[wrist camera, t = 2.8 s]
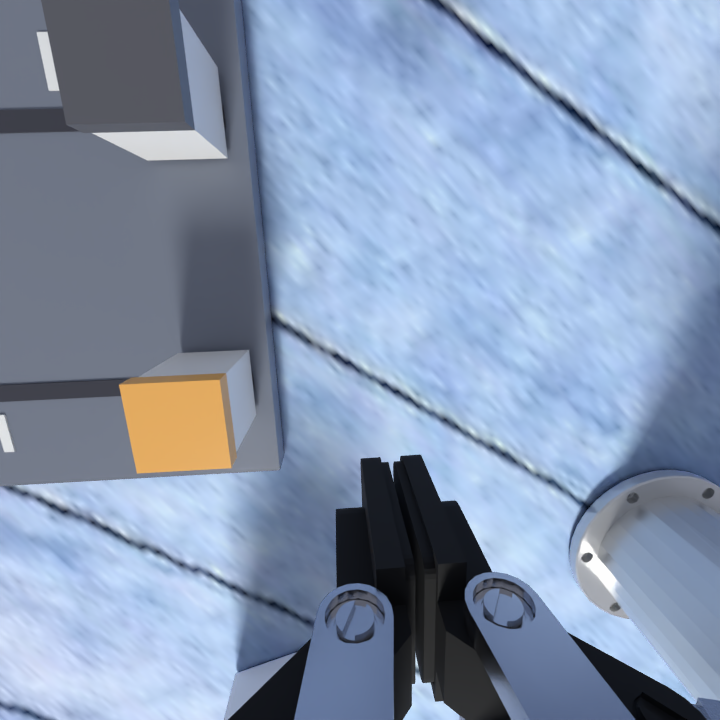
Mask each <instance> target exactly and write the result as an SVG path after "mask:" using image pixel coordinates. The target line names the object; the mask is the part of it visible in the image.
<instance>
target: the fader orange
mask: <svg viewBox="0 0 720 720" xmlns="http://www.w3.org/2000/svg"><path fill="white" fill-rule="evenodd" d="M119 388H120V393H121V398H122V402H123V407H124V412H125V417H126V422H127V427H128V432H129V437H130V442H131V447H132V452H133V457H134V462H135V467H136V472H137V474H138V473H155V472H173V471H191V470H208V469H226V468H232V466H233V464H234V462H235V460H236V458H237V454H236V452H237V450H238V448H239V446H240V444H241V443H242V441H243V439H244V437H245V435H246V433H247V431H248V429H249V427H250V426H251V424H252V422H253V420H254V418H255V416H256V408H255V399H254V390H253V381H252V372H251V363H250V354H249V350H234V351H212V352H190V353H177V354H176V355H174V356H172V357H171V358H169V359H167V360H166V361H164V362H162V363H161V364H159V365H157V366H156V367H154V368H152V369H151V370H149V371H147V372H146V373H144V374H142V375H141V376H139V377H133V378H130V379H128V380H126V381H124V382H123V383H121V384H119Z"/></svg>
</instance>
